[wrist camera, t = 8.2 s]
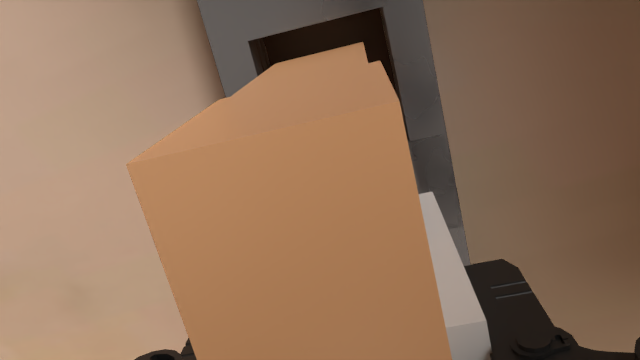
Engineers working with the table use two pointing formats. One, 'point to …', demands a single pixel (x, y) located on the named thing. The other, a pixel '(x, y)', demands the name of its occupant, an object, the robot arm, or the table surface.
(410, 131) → the rail
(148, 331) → the table surface
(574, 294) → the table surface
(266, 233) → the tan wooden block
